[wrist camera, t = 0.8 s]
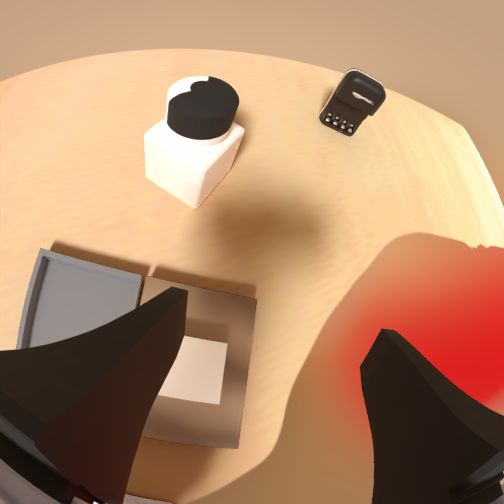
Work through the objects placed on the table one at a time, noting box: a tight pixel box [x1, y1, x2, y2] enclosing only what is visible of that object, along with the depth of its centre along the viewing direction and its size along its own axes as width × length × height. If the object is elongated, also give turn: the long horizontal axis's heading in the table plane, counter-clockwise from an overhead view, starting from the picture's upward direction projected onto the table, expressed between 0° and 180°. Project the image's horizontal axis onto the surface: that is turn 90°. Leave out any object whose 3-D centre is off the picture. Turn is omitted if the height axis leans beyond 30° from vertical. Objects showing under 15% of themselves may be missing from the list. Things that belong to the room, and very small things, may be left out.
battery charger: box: [319, 69, 386, 136], centre depth 36 cm, size 7×4×11 cm, turn 78°
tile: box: [158, 336, 228, 404], centre depth 20 cm, size 5×5×2 cm
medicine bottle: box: [144, 76, 245, 209], centre depth 24 cm, size 7×7×12 cm
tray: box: [16, 248, 143, 350], centre depth 19 cm, size 14×11×2 cm
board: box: [140, 276, 257, 449], centre depth 22 cm, size 14×10×2 cm
